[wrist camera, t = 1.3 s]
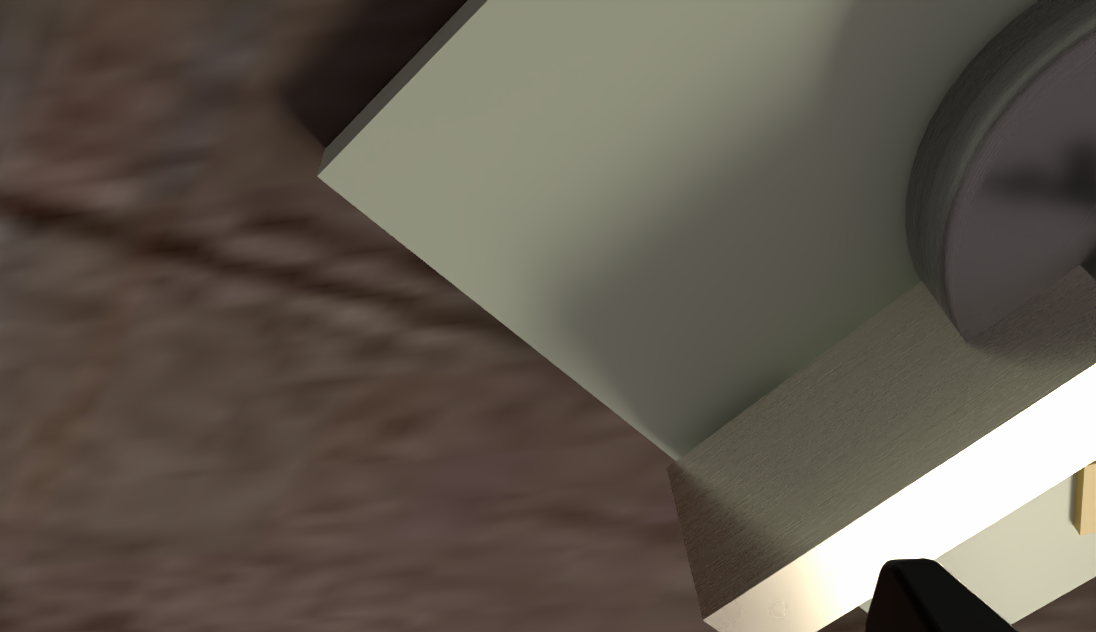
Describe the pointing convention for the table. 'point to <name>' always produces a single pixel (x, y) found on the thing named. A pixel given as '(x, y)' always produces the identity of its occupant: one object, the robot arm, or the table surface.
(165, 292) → the table surface
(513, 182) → the dial plate
